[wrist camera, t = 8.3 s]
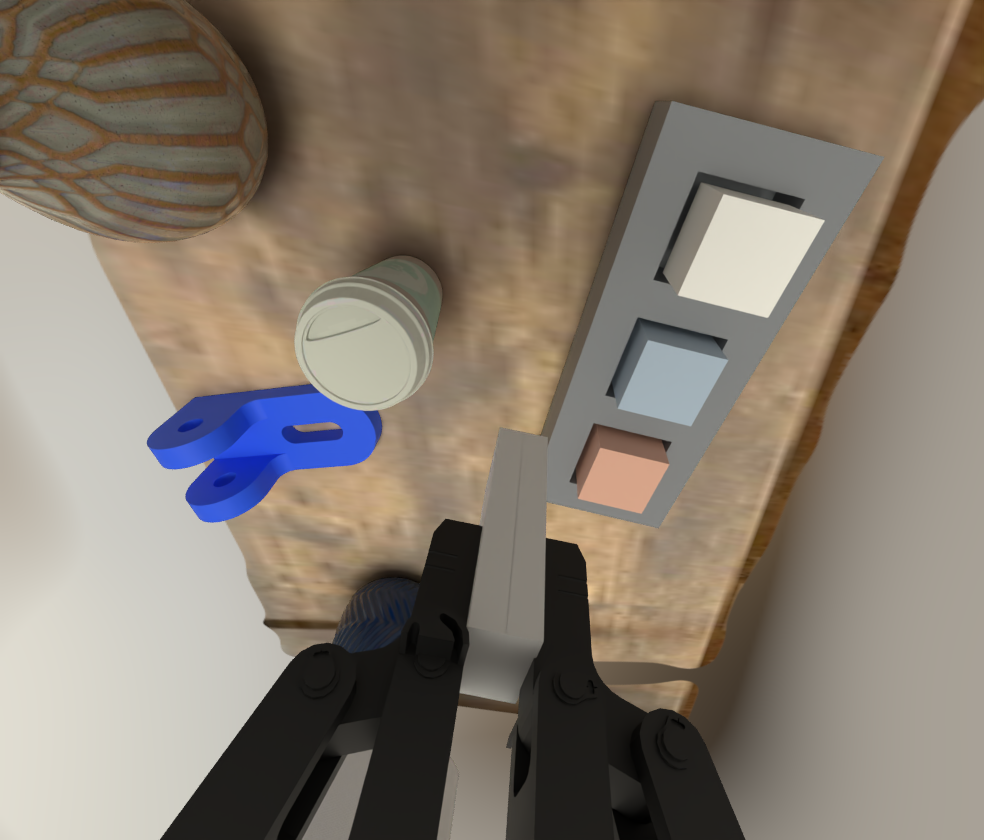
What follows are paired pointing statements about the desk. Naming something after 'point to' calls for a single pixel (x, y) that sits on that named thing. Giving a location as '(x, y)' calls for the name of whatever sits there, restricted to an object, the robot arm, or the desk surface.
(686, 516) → the desk surface
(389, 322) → the coffee cup
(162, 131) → the vase
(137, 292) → the desk surface
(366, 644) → the lamp
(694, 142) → the grey socket block
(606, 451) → the terracotta key
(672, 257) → the white key
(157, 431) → the bracket
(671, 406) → the slate key
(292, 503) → the desk surface
